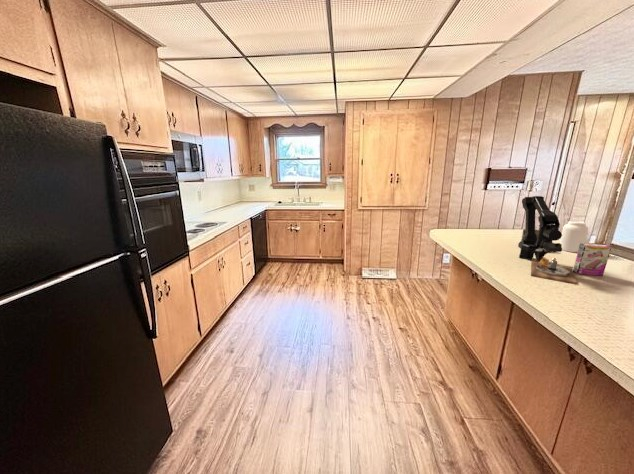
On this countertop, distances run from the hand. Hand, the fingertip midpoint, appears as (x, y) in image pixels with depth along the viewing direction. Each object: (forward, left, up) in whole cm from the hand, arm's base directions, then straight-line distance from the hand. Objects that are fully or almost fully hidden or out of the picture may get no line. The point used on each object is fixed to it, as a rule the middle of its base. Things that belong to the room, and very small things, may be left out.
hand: (538, 261), depth 155 cm
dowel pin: (+7, +4, -3) cm, 9 cm away
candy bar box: (+22, +3, -3) cm, 22 cm away
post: (+6, -7, -3) cm, 10 cm away
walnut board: (+6, -6, -3) cm, 9 cm away
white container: (+18, +52, -3) cm, 55 cm away
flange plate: (+5, -5, -2) cm, 7 cm away
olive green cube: (-4, +45, -3) cm, 45 cm away
